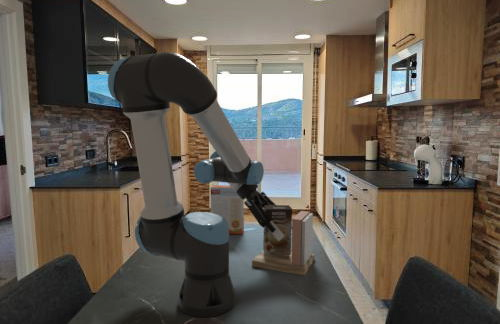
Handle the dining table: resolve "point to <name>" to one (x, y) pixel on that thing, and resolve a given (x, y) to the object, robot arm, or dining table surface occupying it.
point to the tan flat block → (297, 236)
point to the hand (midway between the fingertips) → (286, 234)
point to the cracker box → (228, 207)
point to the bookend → (306, 240)
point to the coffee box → (283, 221)
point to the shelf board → (280, 263)
